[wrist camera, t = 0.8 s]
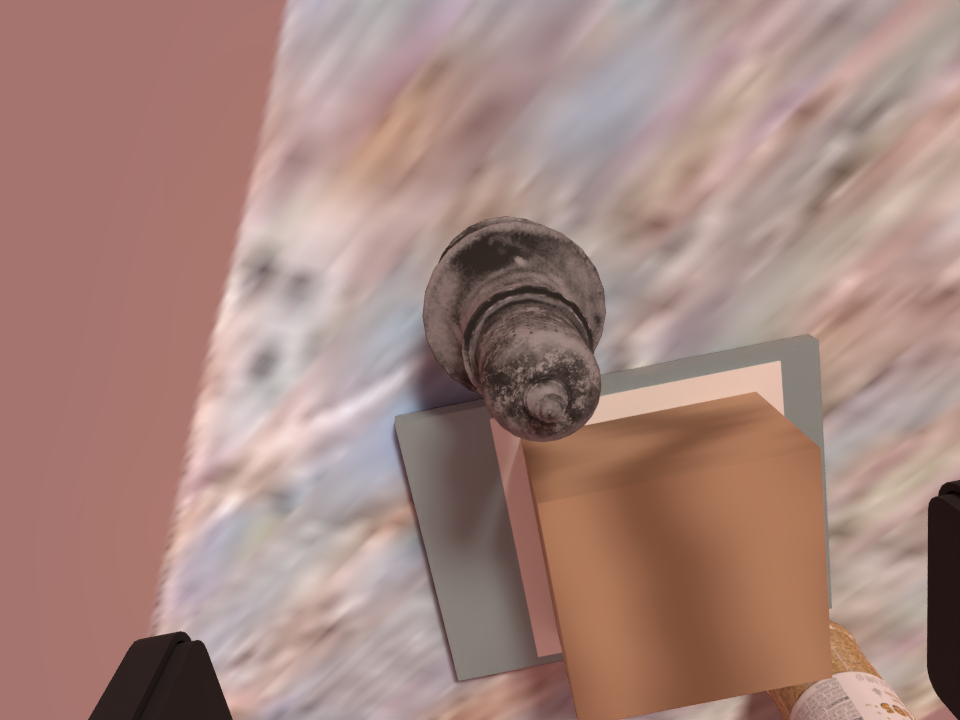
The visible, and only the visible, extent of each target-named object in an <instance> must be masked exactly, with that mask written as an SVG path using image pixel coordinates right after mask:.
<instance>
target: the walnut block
mask: <svg viewBox="0 0 960 720" xmlns="http://www.w3.org/2000/svg"><path fill="white" fill-rule="evenodd" d="M521 443H522V448H523V454H524V459H525V464H526V469H527V475H528V480H529V485H530V490H531V496H532V501H533V506H534V511H535V516H536V522H537V527H538V532H539V537H540V543H541V548H542V553H543V558H544V563H545V569H546V574H547V579H548V584H549V590H550V595H551V600H552V605H553V611H554V616H555V621H556V626H557V631H558V636H559V640H560V645H561V649H562V654H563V658H564V662H565V667H566V671H567V675H568V680H569V684H570V689H571V693H572V697H573V702H574V706H575V710H576V715H577V719H578V720H618V719H623V718H628V717H633V716H638V715H644V714H649V713H654V712H659V711H664V710H669V709H675V708H680V707H685V706H690V705H695V704H700V703H705V702H711V701H716V700H721V699H726V698H731V697H736V696H742V695H747V694H752V693H757V692H762V691H767V690H773V689H778V688H783V687H788V686H793V685H798V684H804V683H809V682H814V681H819V680H824V679H829V678H832V663H831V643H830V623H829V603H828V583H827V563H826V543H825V524H824V504H823V484H822V464H821V448H820V447H819V446H818V445H817V444H816V443H814V442H813V441H812V440H811V439H810V438H809V437H808V436H806V435H805V434H804V433H803V432H802V431H801V430H800V429H798V428H797V427H796V426H795V425H794V424H793V423H792V422H790V421H789V420H788V419H787V418H786V417H785V416H784V415H782V414H781V413H780V412H779V411H778V410H777V409H776V408H774V407H773V406H772V405H771V404H770V403H769V402H768V401H766V400H765V399H764V398H763V397H762V396H761V395H760V394H758V393H757V392H751V393H746V394H741V395H736V396H731V397H726V398H721V399H716V400H711V401H706V402H701V403H696V404H691V405H686V406H680V407H675V408H670V409H665V410H660V411H655V412H650V413H645V414H640V415H635V416H630V417H625V418H620V419H615V420H610V421H605V422H600V423H595V424H590V425H584V426H583V427H582V428H580V429H579V430H577V431H576V432H575V433H573V434H572V435H570V436H567V437H565V438H562V439H559V440H556V441H548V442H536V441H528V440H525V439H522V438H521Z"/></svg>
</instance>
